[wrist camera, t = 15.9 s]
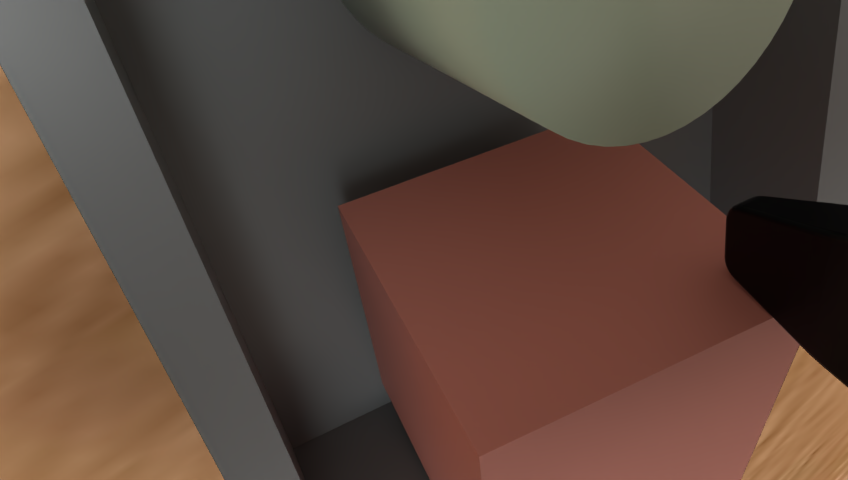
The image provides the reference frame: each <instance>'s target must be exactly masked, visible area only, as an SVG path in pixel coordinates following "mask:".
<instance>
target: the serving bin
mask: <svg viewBox="0 0 848 480" xmlns="http://www.w3.org/2000/svg"><path fill="white" fill-rule="evenodd" d="M0 65H1V67H2V69H3V71H4V73H5V74H6V76H7V78H8V80H9V82H10V84H11V86H12V87H13V89H14V91H15V93H16V95H17V97H18V98H19V100H20V102H21V104H22V106H23V108H24V110H25V111H26V113H27V115H28V117H29V119H30V121H31V123H32V124H33V126H34V128H35V130H36V132H37V134H38V135H39V137H40V139H41V141H42V143H43V145H44V147H45V148H46V150H47V152H48V154H49V156H50V158H51V160H52V161H53V163H54V165H55V167H56V169H57V171H58V172H59V174H60V176H61V178H62V180H63V182H64V184H65V185H66V187H67V189H68V191H69V193H70V195H71V197H72V198H73V200H74V202H75V204H76V206H77V208H78V209H79V211H80V213H81V215H82V217H83V219H84V221H85V222H86V224H87V226H88V228H89V230H90V232H91V234H92V235H93V237H94V239H95V241H96V243H97V245H98V246H99V248H100V250H101V252H102V254H103V256H104V258H105V259H106V261H107V263H108V265H109V267H110V269H111V270H112V272H113V274H114V276H115V278H116V280H117V282H118V283H119V285H120V287H121V289H122V291H123V293H124V295H125V296H126V298H127V300H128V302H129V304H130V306H131V307H132V309H133V311H134V313H135V315H136V317H137V319H138V320H139V322H140V324H141V326H142V328H143V330H144V332H145V333H146V335H147V337H148V339H149V341H150V343H151V344H152V346H153V348H154V350H155V352H156V354H157V356H158V357H159V359H160V361H161V363H162V365H163V367H164V369H165V370H166V372H167V374H168V376H169V378H170V380H171V381H172V383H173V385H174V387H175V389H176V391H177V393H178V394H179V396H180V398H181V400H182V402H183V404H184V406H185V407H186V409H187V411H188V413H189V415H190V417H191V418H192V420H193V422H194V424H195V426H196V428H197V430H198V431H199V433H200V435H201V437H202V439H203V441H204V442H205V444H206V446H207V448H208V450H209V452H210V454H211V455H212V457H213V459H214V461H215V463H216V465H217V467H218V468H219V470H220V472H221V474H222V476H223V478H224V479H225V480H430V479H429V477H428V475H427V473H426V471H425V469H424V467H423V465H422V463H421V461H420V459H419V457H418V455H417V453H416V451H415V449H414V447H413V445H412V443H411V440H410V438H409V436H408V434H407V432H406V430H405V428H404V426H403V424H402V422H401V420H400V418H399V416H398V414H397V412H396V410H395V408H394V406H393V404H392V402H391V400H390V398H389V396H388V394H387V392H386V390H385V387H384V385H383V383H382V380H381V376H380V372H379V368H378V364H377V360H376V356H375V352H374V348H373V344H372V340H371V336H370V332H369V328H368V324H367V320H366V316H365V312H364V308H363V304H362V301H361V297H360V293H359V289H358V285H357V281H356V277H355V273H354V269H353V265H352V261H351V257H350V253H349V249H348V245H347V241H346V237H345V233H344V229H343V225H342V221H341V217H340V213H339V209H338V206H339V205H342V204H345V203H347V202H350V201H353V200H356V199H358V198H361V197H364V196H367V195H369V194H372V193H375V192H378V191H380V190H383V189H386V188H389V187H391V186H394V185H397V184H400V183H402V182H405V181H408V180H411V179H413V178H416V177H419V176H422V175H424V174H427V173H430V172H433V171H435V170H438V169H441V168H444V167H446V166H449V165H452V164H455V163H457V162H460V161H463V160H466V159H468V158H471V157H474V156H477V155H479V154H482V153H485V152H488V151H490V150H493V149H496V148H499V147H501V146H504V145H507V144H510V143H512V142H515V141H518V140H521V139H523V138H526V137H529V136H532V135H534V134H537V133H540V132H543V131H545V130H548V129H547V128H545V127H543V126H541V125H539V124H538V123H536V122H534V121H532V120H530V119H528V118H526V117H525V116H523V115H521V114H519V113H517V112H515V111H513V110H511V109H510V108H508V107H506V106H504V105H502V104H500V103H498V102H497V101H495V100H493V99H491V98H489V97H487V96H485V95H483V94H482V93H480V92H478V91H476V90H474V89H472V88H470V87H469V86H467V85H465V84H463V83H461V82H459V81H457V80H455V79H454V78H452V77H450V76H448V75H446V74H444V73H442V72H441V71H439V70H437V69H435V68H433V67H431V66H429V65H427V64H426V63H424V62H422V61H420V60H418V59H416V58H414V57H413V56H411V55H409V54H407V53H405V52H403V51H401V50H399V49H398V48H396V47H394V46H392V45H390V44H388V43H386V42H385V41H383V40H381V39H380V38H378V37H377V36H375V35H374V34H373V33H371V32H370V31H368V30H367V29H366V28H365V27H364V26H363V25H362V24H361V23H360V22H359V21H358V20H357V19H356V18H355V17H354V16H353V15H352V14H351V12H350V11H349V10H348V9H347V7H346V6H345V5H344V3H343V2H342V0H0ZM639 144H640V145H641V146H642V147H644V148H645V149H646V150H647V151H649V152H650V153H651V154H652V155H653V156H655V157H656V158H657V159H658V160H659V161H661V162H662V163H663V164H664V165H665V166H667V167H668V168H669V169H670V170H672V171H673V172H674V173H675V174H676V175H678V176H679V177H680V178H681V179H682V180H684V181H685V182H686V183H687V184H688V185H690V186H691V187H692V188H693V189H695V190H696V191H697V192H698V193H699V194H701V195H702V196H703V197H704V198H705V199H707V200H708V201H709V202H710V203H712V204H713V205H714V206H715V207H716V208H718V209H719V210H720V211H721V212H722V213H724V214H725V215H726V216H727V213H728V211H729V209H730V208H731V207H733V206H734V205H736V204H738V203H741V202H743V201H745V200H747V199H749V198H751V197H755V196H770V197H779V198H788V199H798V200H807V201H816V202H826V203H835V204H845V205H848V0H793V2H792V4H791V6H790V8H789V10H788V12H787V14H786V16H785V18H784V20H783V22H782V23H781V25H780V27H779V28H778V30H777V32H776V33H775V35H774V37H773V39H772V40H771V42H770V43H769V45H768V46H767V48H766V49H765V50H764V52H763V53H762V55H761V56H760V57H759V59H758V60H757V62H756V63H755V64H754V65H753V67H752V68H751V69H750V70H749V71H748V73H747V74H746V75H745V76H744V77H743V78H742V80H741V81H740V82H739V83H738V84H737V85H736V86H735V87H734V88H733V89H732V90H731V91H730V92H729V93H728V94H727V95H726V96H725V97H724V98H723V99H722V100H720V101H719V102H718V103H717V104H715V105H714V106H713V107H712V108H710V109H709V110H708V111H707V112H705V113H704V114H703V115H701V116H700V117H698V118H696V119H695V120H693V121H692V122H690V123H689V124H687V125H686V126H684V127H682V128H680V129H678V130H676V131H674V132H672V133H670V134H668V135H665V136H662V137H660V138H657V139H654V140H651V141H648V142H644V143H639Z"/></svg>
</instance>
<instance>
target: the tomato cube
mask: <svg viewBox="0 0 848 480" xmlns="http://www.w3.org/2000/svg"><path fill="white" fill-rule="evenodd" d="M338 209H339V213H340V217H341V221H342V225H343V229H344V233H345V237H346V241H347V245H348V249H349V253H350V257H351V261H352V265H353V269H354V273H355V277H356V281H357V285H358V289H359V293H360V297H361V301H362V304H363V308H364V312H365V316H366V320H367V324H368V328H369V332H370V336H371V340H372V344H373V348H374V352H375V356H376V360H377V364H378V368H379V372H380V376H381V380H382V383H383V385H384V387H385V390H386V392H387V394H388V396H389V398H390V400H391V402H392V404H393V406H394V408H395V410H396V412H397V414H398V416H399V418H400V420H401V422H402V424H403V426H404V428H405V430H406V432H407V434H408V436H409V438H410V440H411V443H412V445H413V447H414V449H415V451H416V453H417V455H418V457H419V459H420V461H421V463H422V465H423V467H424V469H425V471H426V473H427V475H428V477H429V479H430V480H741V478H742V476H743V474H744V472H745V469H746V467H747V465H748V462H749V460H750V458H751V456H752V453H753V451H754V449H755V446H756V444H757V442H758V439H759V437H760V435H761V433H762V430H763V428H764V426H765V423H766V421H767V419H768V417H769V414H770V412H771V410H772V407H773V405H774V403H775V400H776V398H777V396H778V394H779V391H780V389H781V387H782V384H783V382H784V380H785V378H786V375H787V373H788V371H789V368H790V366H791V364H792V362H793V359H794V357H795V355H796V352H797V350H798V348H799V344H798V343H797V342H796V341H795V340H794V339H793V337H792V336H791V335H790V334H789V333H788V332H787V331H786V330H785V329H784V328H783V327H782V326H781V325H780V324H779V323H778V322H777V321H776V320H775V319H774V318H773V317H772V316H771V315H770V314H769V313H768V312H767V311H766V310H765V309H764V308H763V307H762V306H761V305H760V304H759V303H758V302H757V301H756V300H755V299H754V298H753V297H752V296H751V295H750V294H749V293H748V292H747V291H746V290H745V289H744V288H743V287H742V286H741V285H740V284H739V283H738V282H737V281H736V280H735V279H734V278H733V277H732V275H731V274H730V272H729V271H728V269H727V266H726V264H725V257H724V255H725V231H726V215H725V214H724V213H722V212H721V211H720V210H719V209H718V208H716V207H715V206H714V205H713V204H712V203H710V202H709V201H708V200H707V199H705V198H704V197H703V196H702V195H701V194H699V193H698V192H697V191H696V190H695V189H693V188H692V187H691V186H690V185H688V184H687V183H686V182H685V181H684V180H682V179H681V178H680V177H679V176H678V175H676V174H675V173H674V172H673V171H672V170H670V169H669V168H668V167H667V166H665V165H664V164H663V163H662V162H661V161H659V160H658V159H657V158H656V157H655V156H653V155H652V154H651V153H650V152H649V151H647V150H646V149H645V148H644V147H642V146H641V145H640V144H634V145H629V146H615V147H603V146H595V145H587V144H583V143H580V142H577V141H573V140H570V139H567V138H565V137H563V136H561V135H559V134H557V133H555V132H553V131H551V130H549V129H548V130H545V131H543V132H540V133H537V134H534V135H532V136H529V137H526V138H523V139H521V140H518V141H515V142H512V143H510V144H507V145H504V146H501V147H499V148H496V149H493V150H490V151H488V152H485V153H482V154H479V155H477V156H474V157H471V158H468V159H466V160H463V161H460V162H457V163H455V164H452V165H449V166H446V167H444V168H441V169H438V170H435V171H433V172H430V173H427V174H424V175H422V176H419V177H416V178H413V179H411V180H408V181H405V182H402V183H400V184H397V185H394V186H391V187H389V188H386V189H383V190H380V191H378V192H375V193H372V194H369V195H367V196H364V197H361V198H358V199H356V200H353V201H350V202H347V203H345V204H342V205H339V206H338Z"/></svg>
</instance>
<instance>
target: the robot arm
mask: <svg viewBox="0 0 848 480" xmlns="http://www.w3.org/2000/svg"><path fill="white" fill-rule="evenodd" d="M724 257H725V264H726V266H727V269H728V271H729V272H730V274H731V275H732V277H733V278H734V279H735V280H736V281H737V282H738V283H739V284H740V285H741V286H742V287H743V288H744V289H745V290H746V291H747V292H748V293H749V294H750V295H751V296H752V297H753V298H754V299H755V300H756V301H757V302H758V303H759V304H760V305H761V306H762V307H763V308H764V309H765V310H766V311H767V312H768V313H769V314H770V315H771V316H772V317H773V318H774V319H775V320H776V321H777V322H778V323H779V324H780V325H781V326H782V327H783V328H784V329H785V330H786V331H787V332H788V333H789V334H790V335H791V336H792V337H793V339H794V340H795V341H796V342H797V343H798V344H799V345H800V346H802V347H803V348H804V349H805V350H806V351H807V352H808V353H809V354H810V355H811V356H812V357H813V358H814V359H815V360H816V361H817V362H819V363H820V364H821V365H822V366H823V367H824V368H825V369H827V370H828V371H829V372H830V373H831V374H832V375H834V376H835V377H836V378H837V379H838V380H840V381H841V382H842V383H843V384H844V385H846V386H847V387H848V205H845V204H835V203H826V202H816V201H807V200H798V199H788V198H779V197H770V196H755V197H751V198H749V199H747V200H745V201H743V202H741V203H738V204H736V205H734V206H733V207H731V208H730V209H729V211H728V213H727V216H726V231H725V255H724Z"/></svg>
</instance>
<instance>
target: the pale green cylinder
mask: <svg viewBox="0 0 848 480" xmlns="http://www.w3.org/2000/svg"><path fill="white" fill-rule="evenodd" d="M342 2H343V3H344V5H345V6H346V7H347V9H348V10H349V11H350V12H351V14H352V15H353V16H354V17H355V18H356V19H357V20H358V21H359V22H360V23H361V24H362V25H363V26H364V27H365V28H366V29H367V30H368V31H370V32H371V33H373V34H374V35H375V36H377V37H378V38H380V39H381V40H383V41H385V42H386V43H388V44H390V45H392V46H394V47H396V48H398V49H399V50H401V51H403V52H405V53H407V54H409V55H411V56H413V57H414V58H416V59H418V60H420V61H422V62H424V63H426V64H427V65H429V66H431V67H433V68H435V69H437V70H439V71H441V72H442V73H444V74H446V75H448V76H450V77H452V78H454V79H455V80H457V81H459V82H461V83H463V84H465V85H467V86H469V87H470V88H472V89H474V90H476V91H478V92H480V93H482V94H483V95H485V96H487V97H489V98H491V99H493V100H495V101H497V102H498V103H500V104H502V105H504V106H506V107H508V108H510V109H511V110H513V111H515V112H517V113H519V114H521V115H523V116H525V117H526V118H528V119H530V120H532V121H534V122H536V123H538V124H539V125H541V126H543V127H545V128H547V129H549V130H551V131H553V132H555V133H557V134H559V135H561V136H563V137H565V138H567V139H570V140H573V141H577V142H580V143H583V144H587V145H595V146H603V147H615V146H629V145H634V144H639V143H644V142H648V141H651V140H654V139H657V138H660V137H662V136H665V135H668V134H670V133H672V132H674V131H676V130H678V129H680V128H682V127H684V126H686V125H687V124H689V123H690V122H692V121H693V120H695V119H696V118H698V117H700V116H701V115H703V114H704V113H705V112H707V111H708V110H709V109H710V108H712V107H713V106H714V105H715V104H717V103H718V102H719V101H720V100H722V99H723V98H724V97H725V96H726V95H727V94H728V93H729V92H730V91H731V90H732V89H733V88H734V87H735V86H736V85H737V84H738V83H739V82H740V81H741V80H742V78H743V77H744V76H745V75H746V74H747V73H748V71H749V70H750V69H751V68H752V67H753V65H754V64H755V63H756V62H757V60H758V59H759V57H760V56H761V55H762V53H763V52H764V50H765V49H766V48H767V46H768V45H769V43H770V42H771V40H772V39H773V37H774V35H775V33H776V32H777V30H778V28H779V27H780V25H781V23H782V22H783V20H784V18H785V16H786V14H787V12H788V10H789V8H790V6H791V4H792V2H793V0H342Z"/></svg>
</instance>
